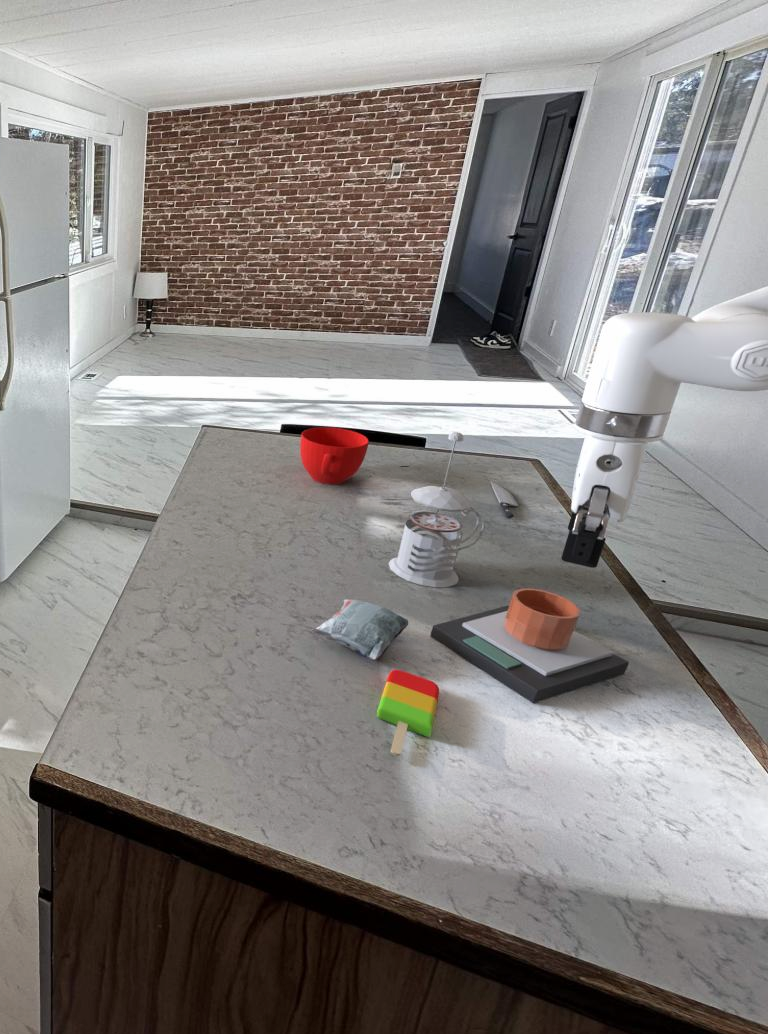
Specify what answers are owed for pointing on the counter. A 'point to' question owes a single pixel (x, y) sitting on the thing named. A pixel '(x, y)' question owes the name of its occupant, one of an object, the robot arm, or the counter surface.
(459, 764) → the counter surface
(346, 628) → the packaged food
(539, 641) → the bowl
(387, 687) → the popsicle
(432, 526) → the french press
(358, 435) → the ceramic cup
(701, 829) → the counter surface
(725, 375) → the robot arm
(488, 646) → the scale
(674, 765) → the counter surface
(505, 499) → the chef's knife
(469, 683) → the counter surface
